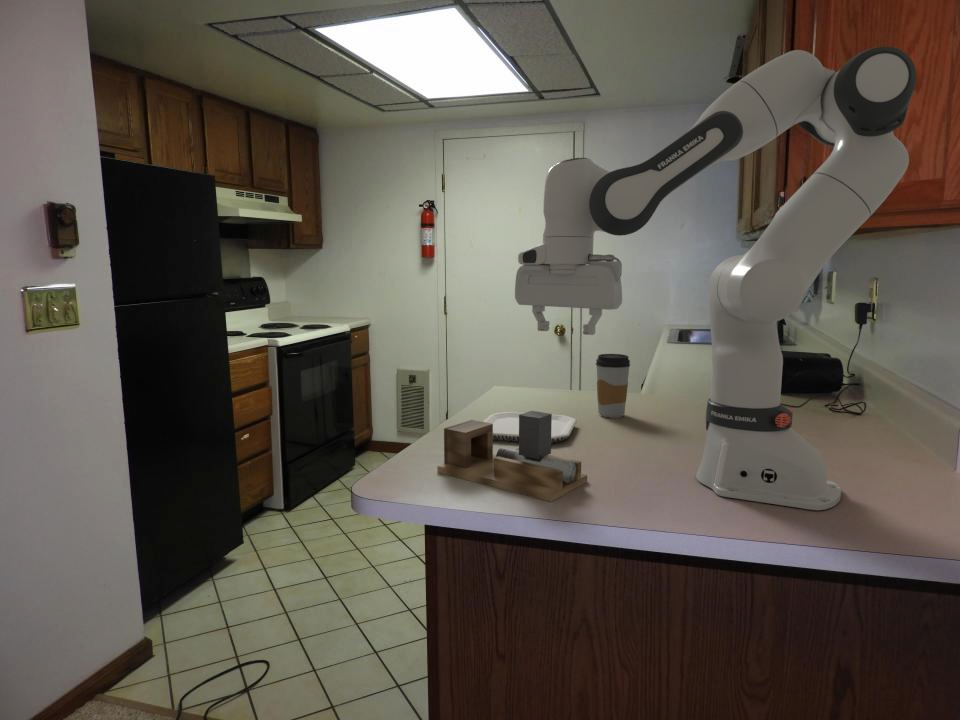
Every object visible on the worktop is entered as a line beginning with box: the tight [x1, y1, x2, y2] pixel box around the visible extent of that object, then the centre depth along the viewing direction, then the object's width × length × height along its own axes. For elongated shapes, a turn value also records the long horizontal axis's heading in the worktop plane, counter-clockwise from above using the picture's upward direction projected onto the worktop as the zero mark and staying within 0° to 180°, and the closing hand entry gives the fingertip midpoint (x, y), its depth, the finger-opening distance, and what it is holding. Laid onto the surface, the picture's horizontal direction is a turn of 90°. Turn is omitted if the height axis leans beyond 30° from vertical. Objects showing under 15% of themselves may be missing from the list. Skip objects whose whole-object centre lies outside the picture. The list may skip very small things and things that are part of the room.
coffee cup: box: [595, 353, 631, 419], centre depth 160 cm, size 8×8×15 cm
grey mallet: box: [495, 410, 576, 483], centre depth 111 cm, size 14×4×11 cm, turn 52°
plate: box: [482, 411, 578, 444], centre depth 146 cm, size 21×21×2 cm
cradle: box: [437, 419, 588, 503], centre depth 114 cm, size 24×12×8 cm, turn 52°
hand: (565, 332), depth 116 cm, fingers open, 8 cm apart
